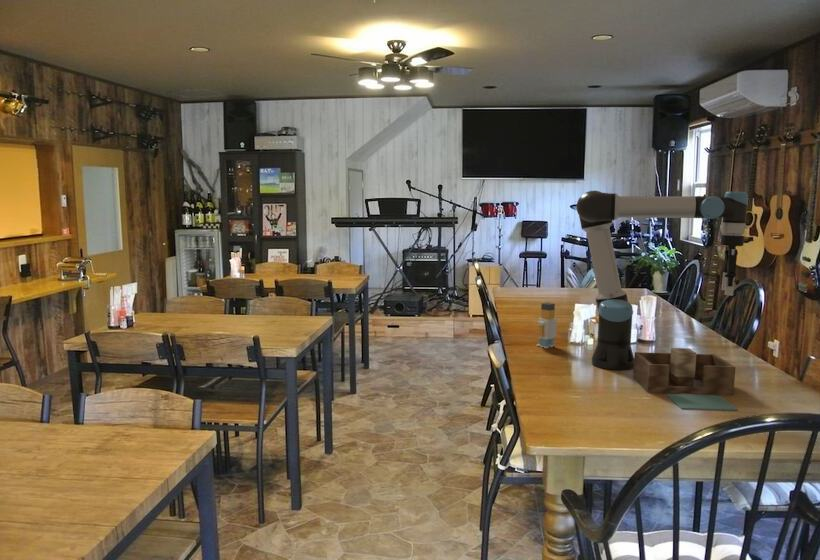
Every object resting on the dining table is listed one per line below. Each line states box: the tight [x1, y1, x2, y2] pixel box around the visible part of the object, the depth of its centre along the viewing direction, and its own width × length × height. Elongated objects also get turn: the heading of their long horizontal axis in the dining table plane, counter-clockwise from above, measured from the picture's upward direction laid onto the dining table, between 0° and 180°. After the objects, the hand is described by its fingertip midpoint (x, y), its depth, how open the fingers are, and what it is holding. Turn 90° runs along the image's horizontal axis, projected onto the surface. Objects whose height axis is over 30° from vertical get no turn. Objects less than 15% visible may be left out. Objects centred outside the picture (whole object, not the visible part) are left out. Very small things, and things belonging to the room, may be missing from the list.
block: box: [670, 347, 697, 377], centre depth 209 cm, size 6×6×8 cm
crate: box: [632, 351, 737, 396], centre depth 209 cm, size 26×16×9 cm, turn 86°
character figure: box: [536, 302, 558, 349], centre depth 263 cm, size 8×10×18 cm
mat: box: [666, 393, 738, 412], centre depth 193 cm, size 16×13×1 cm
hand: (727, 292), depth 234 cm, fingers open, 13 cm apart
